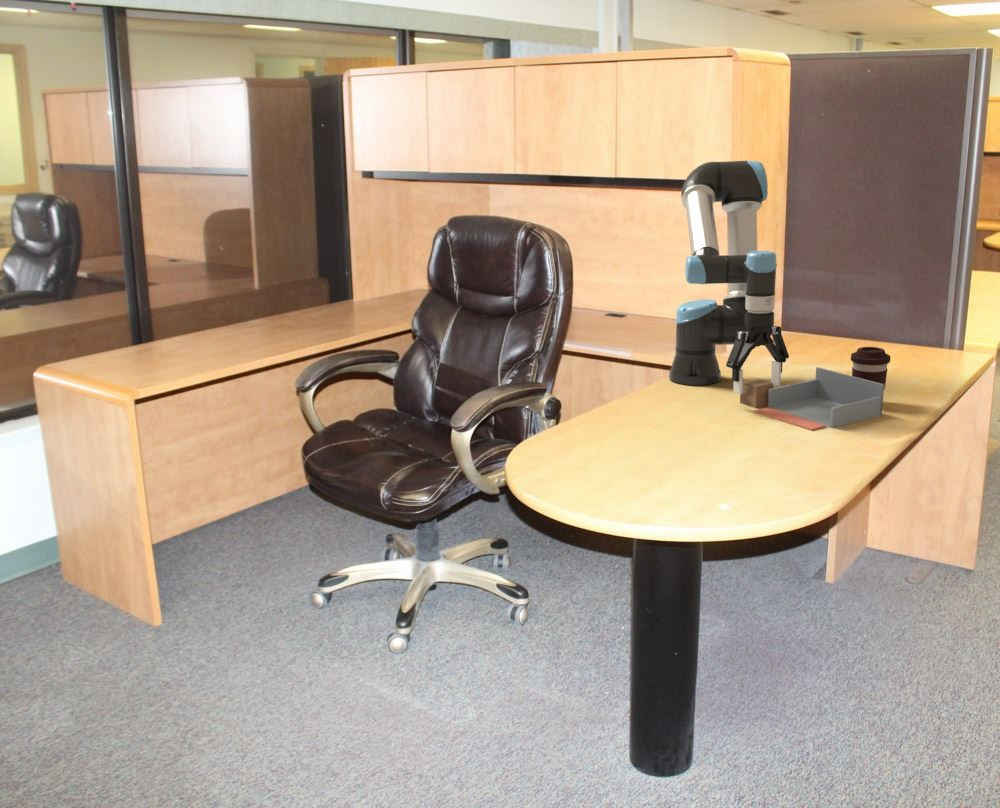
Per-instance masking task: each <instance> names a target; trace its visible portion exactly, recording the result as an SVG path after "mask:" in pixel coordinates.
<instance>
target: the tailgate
mask: <svg viewBox="0 0 1000 808" xmlns="http://www.w3.org/2000/svg"><path fill="white" fill-rule="evenodd" d="M754 413H756V414H759V415H762V416H765V417H768V418H771V419H774V420H777V421H780V422H783V423H785V424H788V425H793V426H795V427H799V428H801V429H804V430H807V431H810V432H813V431H817V430H821V429H825V428H827V426H826V425H824V424H821V423H817V422H814V421H811V420H808V419H805V418H802V417H799V416H795V415H792V414H789V413H786V412H783V411H780V410H777V409H773V408H770V407H768V406H767V407H763V408H760V409H759V408H758V409H756V410H754Z"/></svg>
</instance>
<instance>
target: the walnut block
mask: <svg viewBox="0 0 1000 808" xmlns="http://www.w3.org/2000/svg"><path fill="white" fill-rule="evenodd" d="M772 388H774V385H773V383H771V381H767V380H764V379H760V378H758V377H757V378H753V379H752V378H751V379H748V380H743V392H742V394H739V403H740V404H741V405H745V406H747V407H751V408H754V409H759V408H762V407H763V408H764V407H768V397H769V389H772Z"/></svg>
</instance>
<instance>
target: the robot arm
mask: <svg viewBox="0 0 1000 808" xmlns="http://www.w3.org/2000/svg"><path fill="white" fill-rule="evenodd" d="M768 188H769V185H768V178H767V171H766V169H765V166H764V165H763V163H762V162H761V161H758V160H747V159H746V160H745V159H744V160H735V161H730V160H729V161H708V162H704V163H702V164H700V165H699V166H697V167H696V168H694V169H693V170H692V171H691V172H690V173H689V174H688V176H687V178H686V179H685V181H684V183H683V185H682V188H681V193H680V194H681V204H682V206H683V207H684V208H685V210H686V217H687V227H688V236H689V245H690V256H687V257H686V258H685V267H684V268H685V269H684V271H685V281H686V283H688V284H690V285H691V284H692V285H693V284H694V285H709V284H710V285H713V284H714V285H715V284H716V285H717V284H727V286H728V287H727V294H726V296H724V298H723V299H722V304H720V305H719V304H718V303H717V301H716V300H715V299H695V300H691V301H687V302H684V303H682V304H680V305H679V306H678V307H677V309H676V317H675V321H674V322H675V324H676V325H675V326H676V327H675V354H674V357H673V360H672V365H671V368H670V369H669V374H668V376H669V378H668V379H669V380H670V381H671V382H672V383H676V384H680V385H687V386H688V385H689V386H705V385H707V386H708V385H712V384H716V383H719V382H721V376H722V374H721V373H722V372H721V369H720V366H719V362H718V358H717V355H716V346H717V345H718V346H720V345H721V346H722V345H728V346H729V345H733V346H732V348H731V350H730V353H729V356H728V358H727V360H726V364H725V367H726V368H730V369H731V373H732V374H731V379H732V382H733V387H732V388H733V391H732V392H733V393H736V394H739V395H740V394H742V392H743V381H744V369H742V367H743V365H744V364H745V362H746V361H747V359H748V358H749V356H750V353H751V352H752V351H753V350H755V348H758V347H760V346H765V348H766V349H767V351H768V352H769V354H770V355H771V357H772V358H773V360H772V361H771V374H770V375H771V377H770V382H771V383H773V386H774V387H781V381H782V380H781V379H782V377H781V375H782V374H783V363H786V362H787V359H789V357H790V356H789V355H790V354H789V352H788V349H787V347H786V343H785V340H784V338H783V335H782V327H781V326H778V325H774V324H775V312H774V310H775V305H776V303H775V301H776V278H777V275H776V274H777V267H778V266H777V265H778V263H777V254H776V253H775V252H774V251H770V250H758V211H759V210H760V209H761V207H763V202H765V201H766V200H767V199H768V195H769V194H768V193H769V191H768ZM720 202H721V209H722V210H723V211H724V212H725V213H726V220H727V221H726V224H727V228H726V229H727V230H726V231H727V237H726V239H727V255H726V254H725V255H721V254H720V249H719V242H718V233H717V226H716V219H715V212H714V203H720Z"/></svg>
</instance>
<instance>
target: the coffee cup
mask: <svg viewBox="0 0 1000 808" xmlns="http://www.w3.org/2000/svg"><path fill="white" fill-rule="evenodd" d="M891 358H892V357H891V355H890V354H888V353H886V349H884V348H881V347H876V346H861V347H858V348H857V350H856V351H855V352H852V353H851V354H850V361H851V362H852V367H851V373H852V374H851V376H854V377H858V378H862V379H865V380H869V381H873V382H877V383H881V384H884V390H885V388H886V382H887V375H888V364H890V362H891Z"/></svg>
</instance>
